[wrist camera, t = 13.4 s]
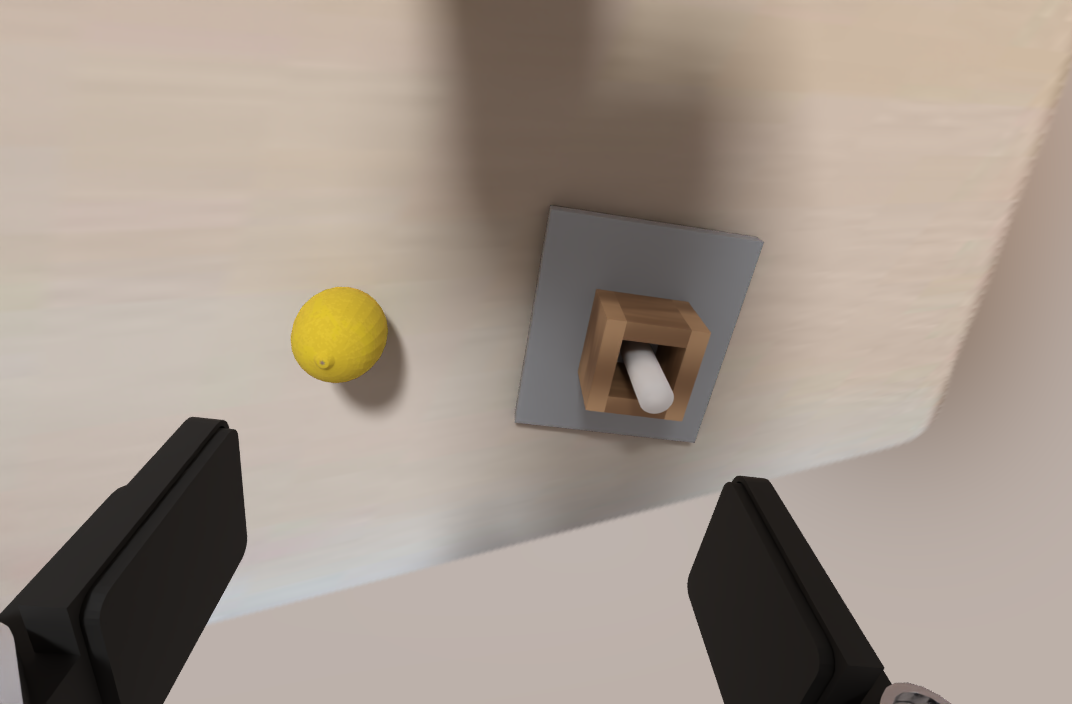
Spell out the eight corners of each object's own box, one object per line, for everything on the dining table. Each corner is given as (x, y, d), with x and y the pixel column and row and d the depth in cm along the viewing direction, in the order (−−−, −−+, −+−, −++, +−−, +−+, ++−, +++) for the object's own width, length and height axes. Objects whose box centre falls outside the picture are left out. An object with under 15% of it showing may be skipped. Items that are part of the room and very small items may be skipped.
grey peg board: (550, 205, 37) (561, 246, 28) (756, 236, 38) (824, 285, 30) (514, 413, 44) (515, 494, 35) (690, 433, 45) (729, 516, 37)
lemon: (413, 305, 39) (391, 359, 32) (367, 359, 41) (336, 421, 34) (344, 253, 38) (305, 298, 30) (299, 312, 39) (252, 367, 32)
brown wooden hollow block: (596, 288, 38) (607, 318, 34) (688, 301, 39) (711, 332, 34) (577, 372, 41) (585, 410, 36) (663, 382, 42) (682, 421, 37)
